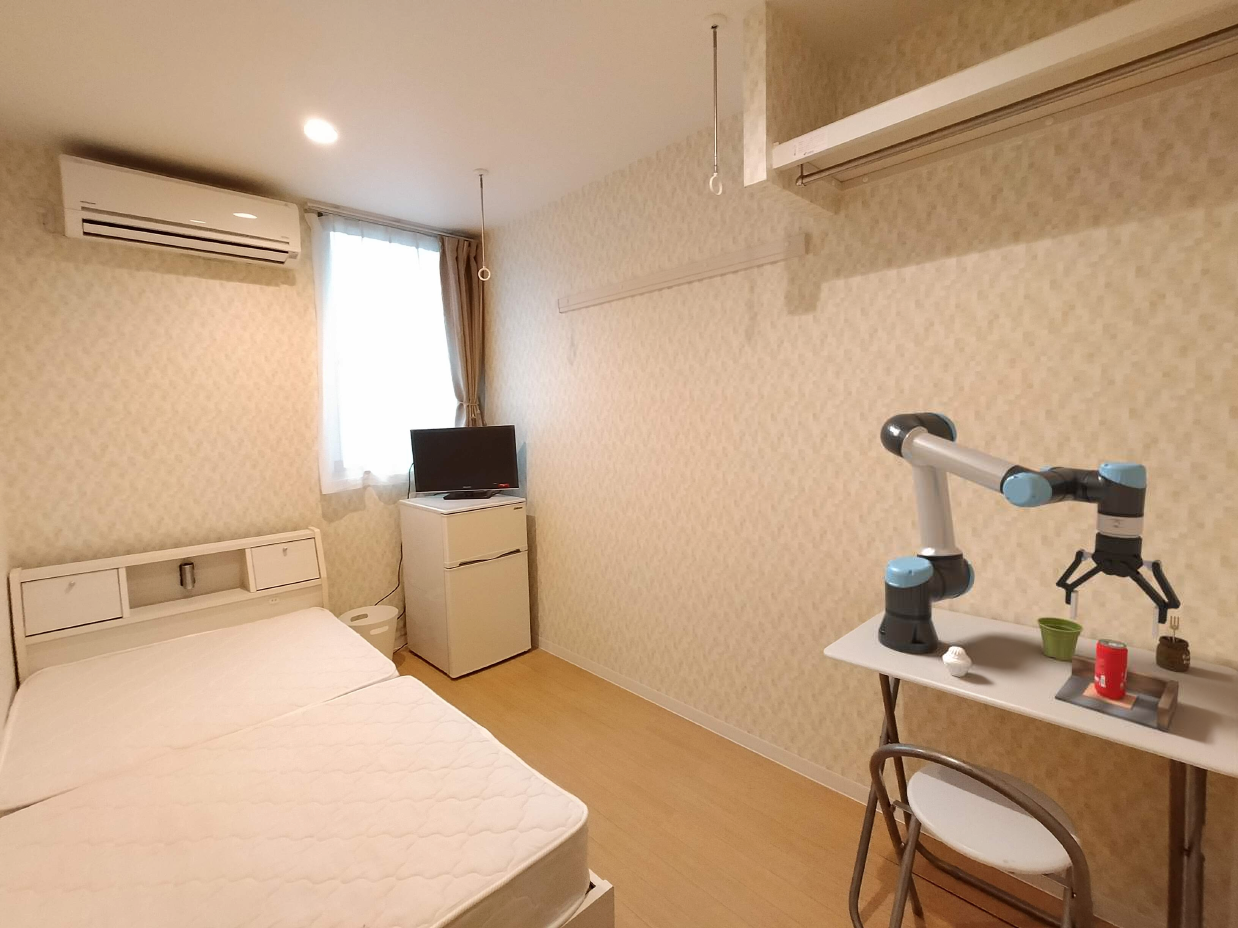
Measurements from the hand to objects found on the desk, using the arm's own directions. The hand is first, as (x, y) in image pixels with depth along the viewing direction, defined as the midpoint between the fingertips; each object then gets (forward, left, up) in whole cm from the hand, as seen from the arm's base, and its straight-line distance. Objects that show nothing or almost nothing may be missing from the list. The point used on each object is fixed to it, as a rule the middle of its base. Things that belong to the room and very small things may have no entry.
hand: (1112, 627), depth 122 cm
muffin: (-27, -12, -17) cm, 34 cm away
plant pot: (-13, +17, -17) cm, 27 cm away
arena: (+1, -1, -16) cm, 16 cm away
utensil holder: (+7, +29, -17) cm, 35 cm away
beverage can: (0, 0, -16) cm, 16 cm away
